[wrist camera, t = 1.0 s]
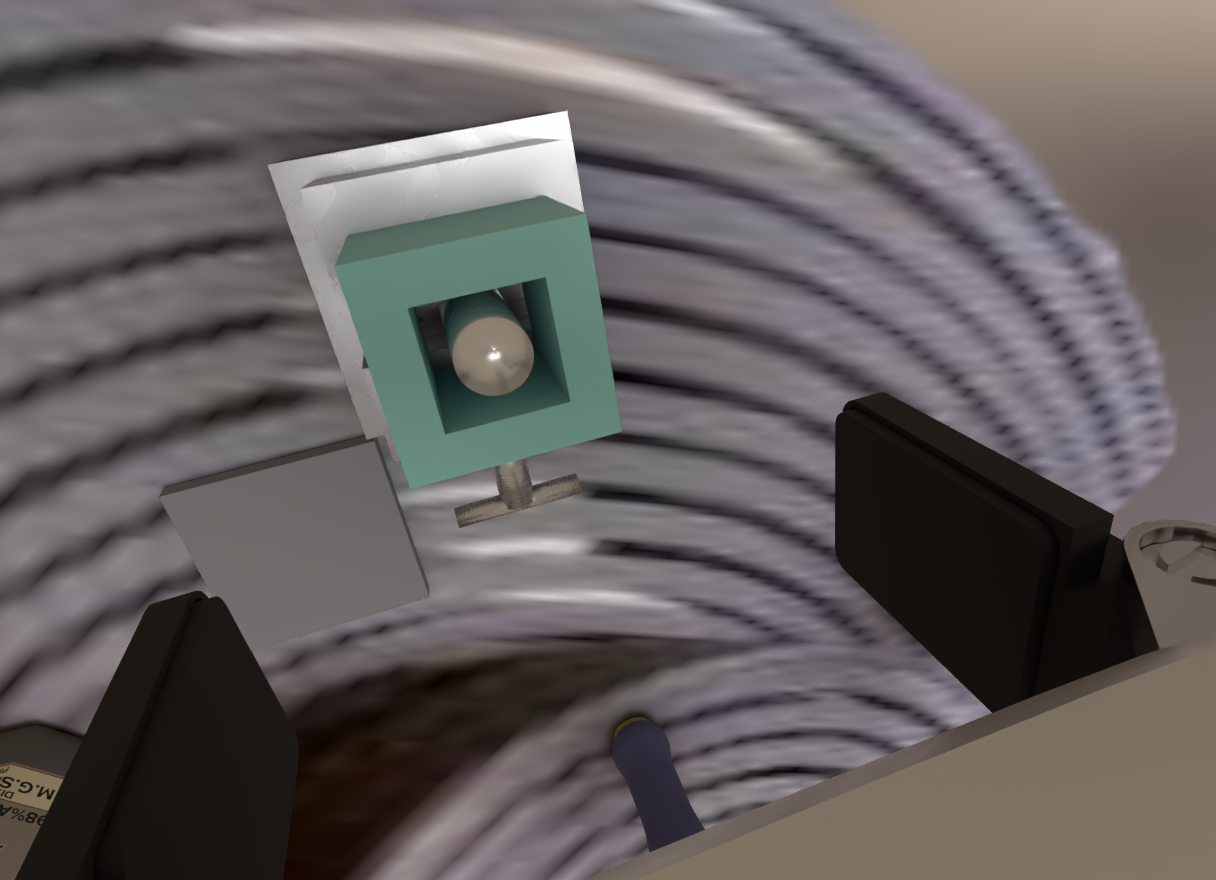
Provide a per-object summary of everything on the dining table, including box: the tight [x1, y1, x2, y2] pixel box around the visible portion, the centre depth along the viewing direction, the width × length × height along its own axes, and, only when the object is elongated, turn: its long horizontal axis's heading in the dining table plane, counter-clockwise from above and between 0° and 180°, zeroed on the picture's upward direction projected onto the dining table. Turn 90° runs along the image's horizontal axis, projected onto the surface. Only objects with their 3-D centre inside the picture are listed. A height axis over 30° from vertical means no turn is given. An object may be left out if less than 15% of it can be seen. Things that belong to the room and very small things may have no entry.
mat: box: [159, 436, 429, 651], centre depth 35 cm, size 10×10×1 cm
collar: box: [334, 196, 622, 490], centre depth 23 cm, size 7×7×6 cm
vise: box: [267, 111, 584, 528], centre depth 27 cm, size 17×12×14 cm
